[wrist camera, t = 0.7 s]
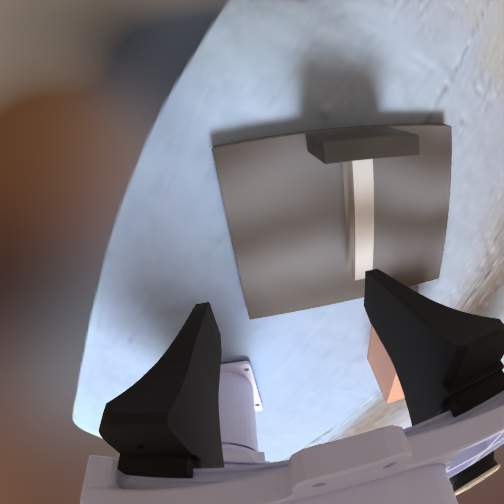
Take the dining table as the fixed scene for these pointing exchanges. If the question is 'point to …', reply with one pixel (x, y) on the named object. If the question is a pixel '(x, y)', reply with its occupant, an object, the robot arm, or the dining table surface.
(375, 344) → the slotted block
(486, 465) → the travel mug
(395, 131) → the rail board
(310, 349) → the dining table surface
